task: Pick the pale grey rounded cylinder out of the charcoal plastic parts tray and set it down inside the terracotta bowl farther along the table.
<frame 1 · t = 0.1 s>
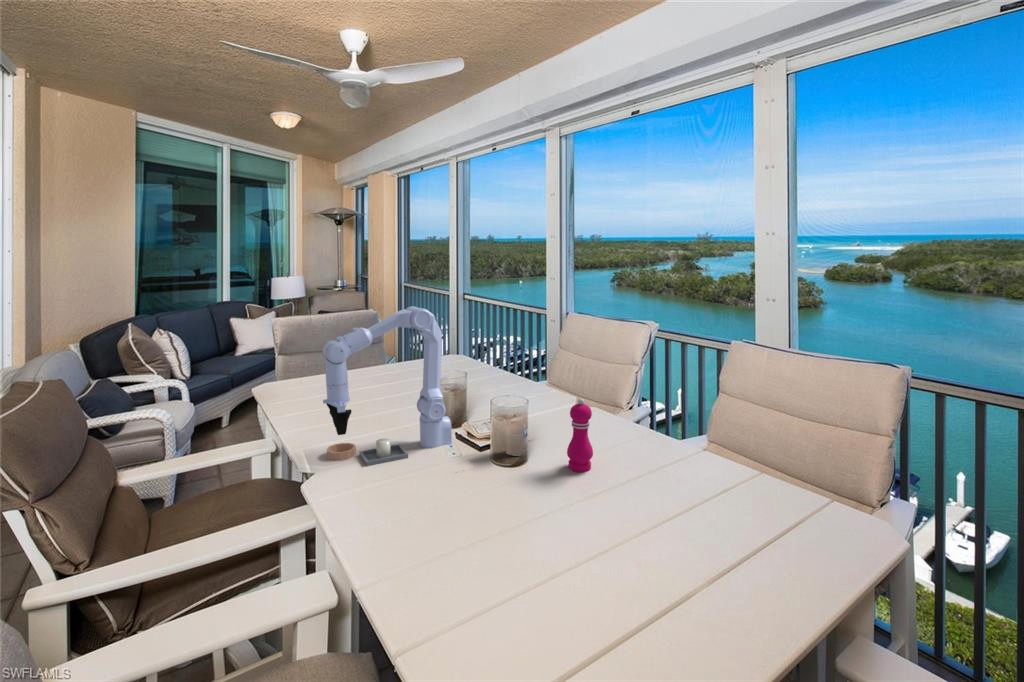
hand: (340, 430, 138), 10 cm above the table, fingers open, 7 cm apart
bowl: (341, 457, 144), on the table
pepper mill: (579, 468, 137), on the table
pale grey rounded cylinder: (383, 456, 143), point 1 cm above the table, touching parts tray
parts tray: (383, 459, 143), on the table
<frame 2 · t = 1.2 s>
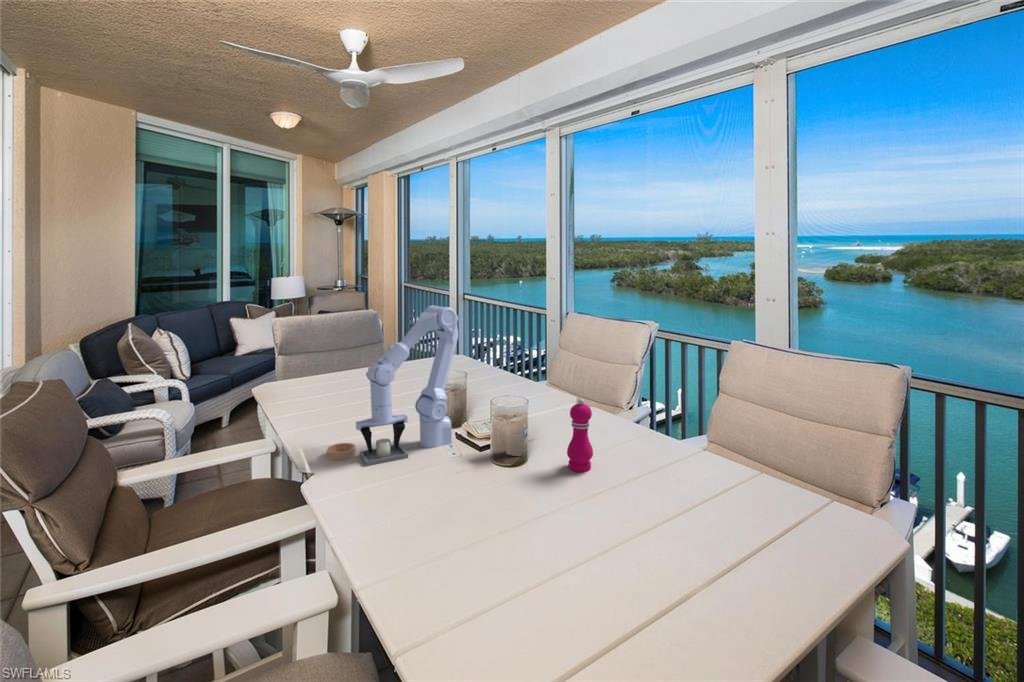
hand: (383, 449, 142), 3 cm above the table, fingers open, 7 cm apart
nothing on the table moved.
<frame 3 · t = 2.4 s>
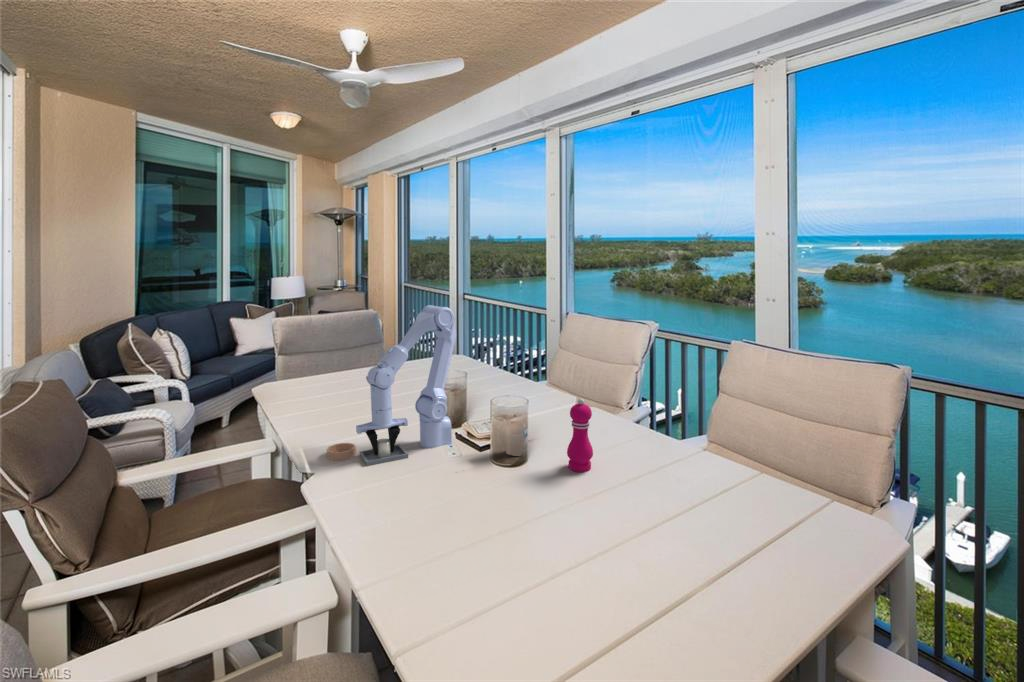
hand: (383, 452, 143), 2 cm above the table, fingers closed on pale grey rounded cylinder, 4 cm apart
pale grey rounded cylinder: (383, 456, 143), point 1 cm above the table, touching gripper, parts tray
everything else where it was.
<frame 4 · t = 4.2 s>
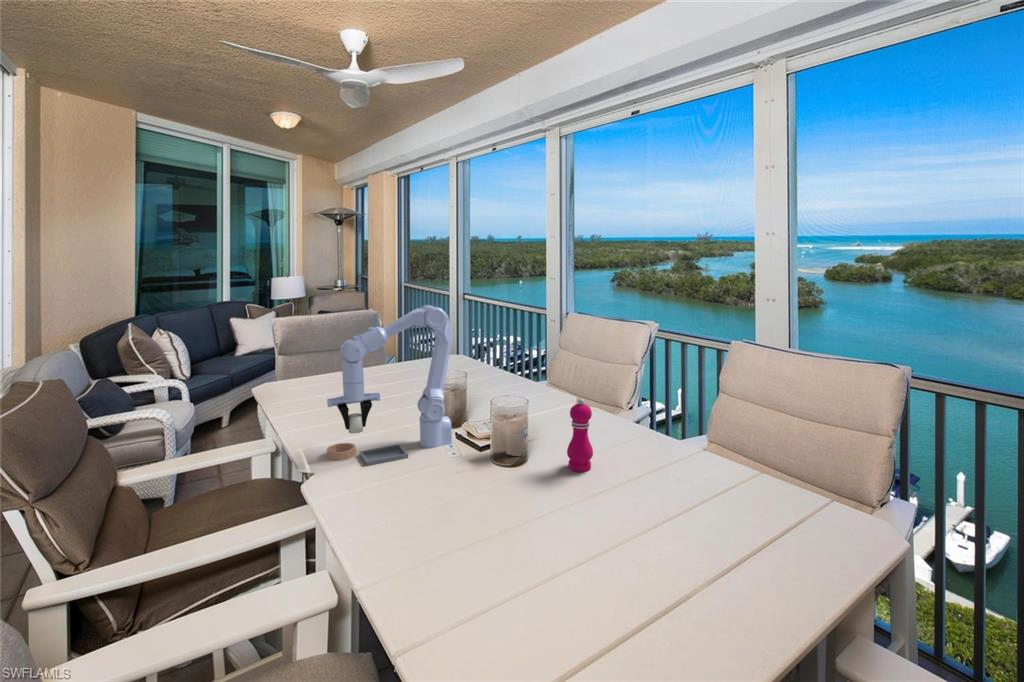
hand: (355, 427, 142), 10 cm above the table, fingers closed on pale grey rounded cylinder, 4 cm apart
pale grey rounded cylinder: (355, 431, 142), point 8 cm above the table, touching gripper
everything else where it was.
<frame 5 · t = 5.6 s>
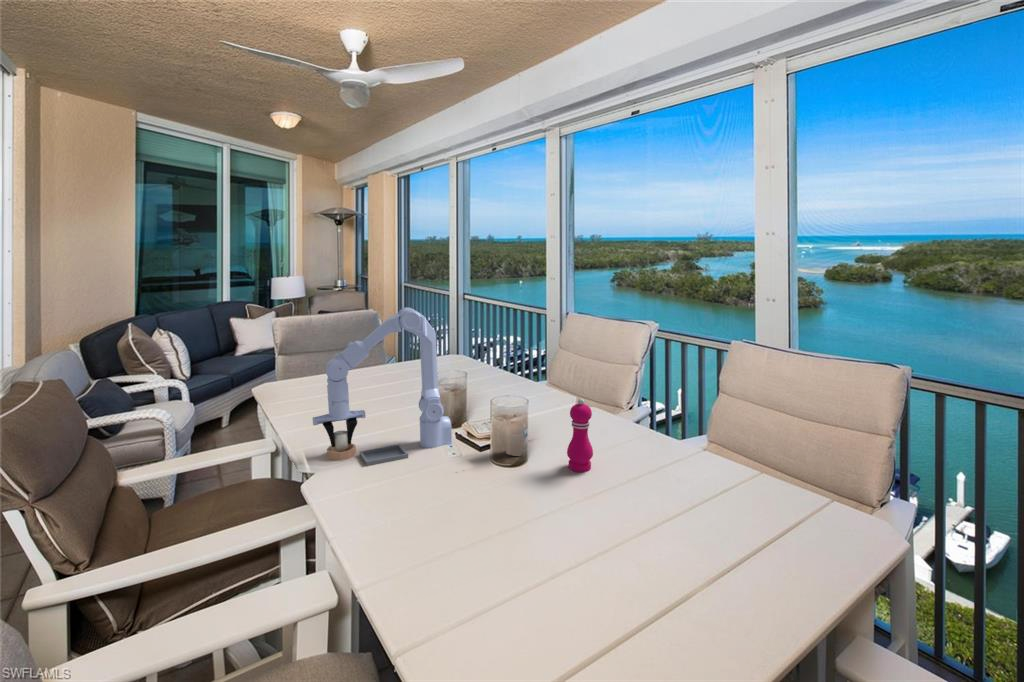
hand: (341, 444, 144), 4 cm above the table, fingers closed on pale grey rounded cylinder, 4 cm apart
pale grey rounded cylinder: (341, 448, 144), point 3 cm above the table, touching gripper
everything else where it was.
when the fingers open (4 cm above the table, at t = 6.4 s): pale grey rounded cylinder drops 2 cm, resting on bowl.
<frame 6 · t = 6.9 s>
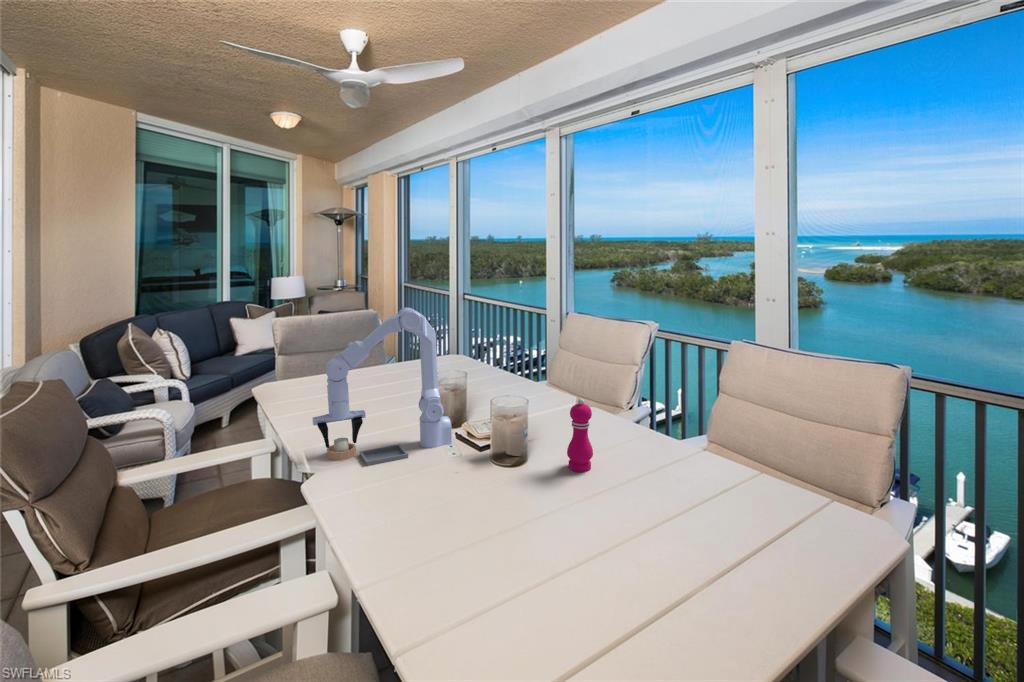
hand: (341, 444, 144), 4 cm above the table, fingers open, 7 cm apart
pale grey rounded cylinder: (342, 455, 144), point 1 cm above the table, touching bowl
everything else where it was.
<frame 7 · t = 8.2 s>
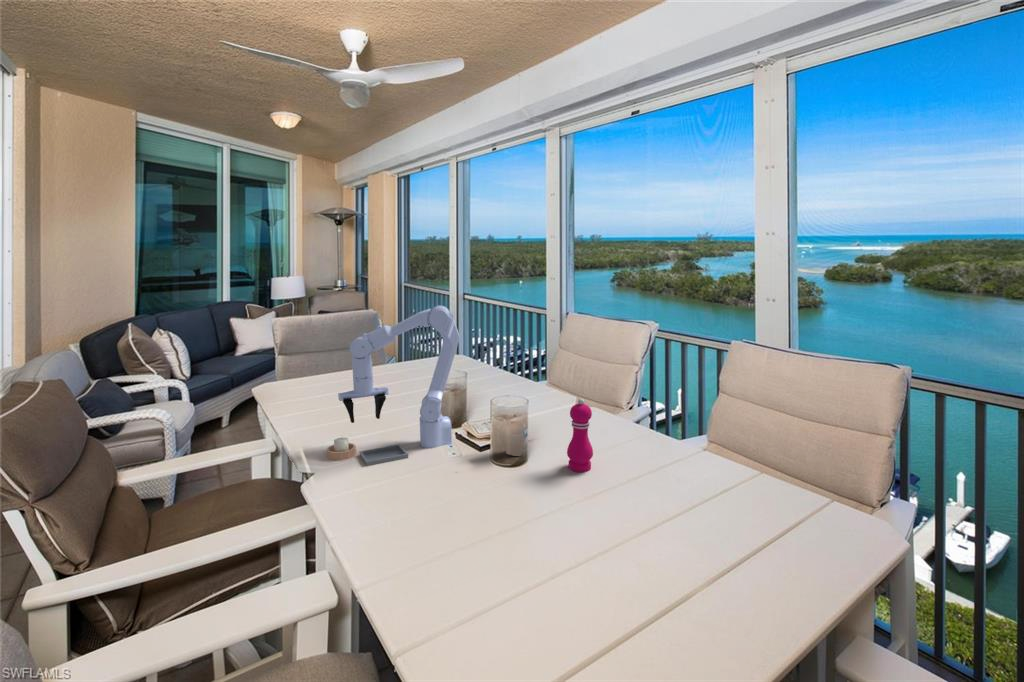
hand: (365, 419, 149), 9 cm above the table, fingers open, 7 cm apart
nothing on the table moved.
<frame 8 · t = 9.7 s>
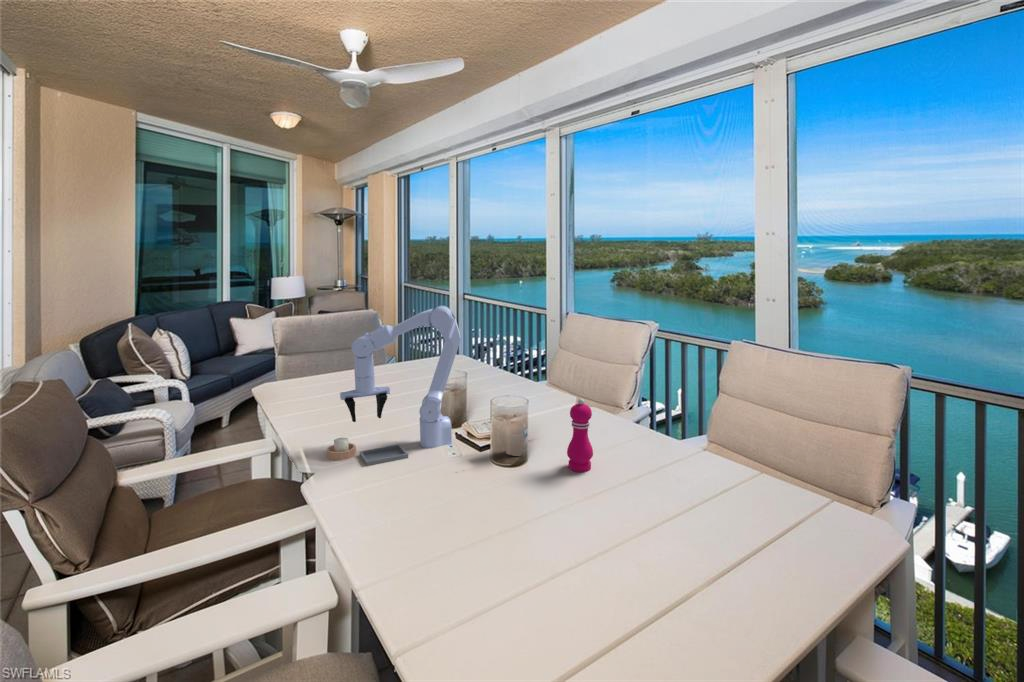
hand: (366, 419, 150), 9 cm above the table, fingers open, 7 cm apart
nothing on the table moved.
at the end: pale grey rounded cylinder 0.1 cm off-centre on the bowl, point 0.6 cm above the bowl's base; the gripper is holding nothing; pale grey rounded cylinder touching bowl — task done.
